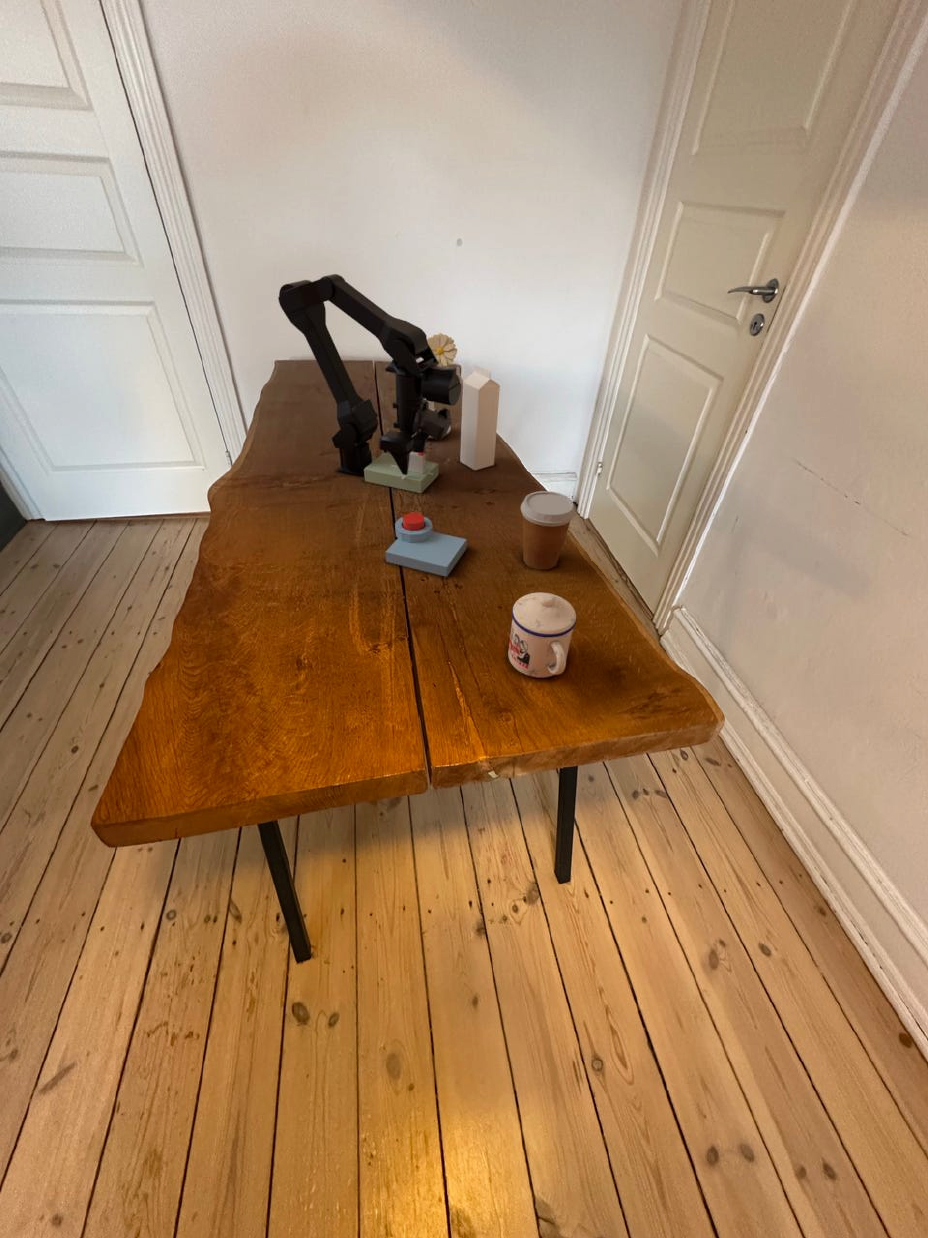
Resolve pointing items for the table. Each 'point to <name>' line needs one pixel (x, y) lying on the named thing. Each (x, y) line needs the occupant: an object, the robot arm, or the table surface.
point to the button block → (425, 549)
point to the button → (413, 522)
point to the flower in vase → (442, 355)
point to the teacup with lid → (541, 634)
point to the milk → (479, 419)
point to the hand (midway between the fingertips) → (411, 467)
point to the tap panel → (399, 474)
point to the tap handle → (417, 462)
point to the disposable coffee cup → (545, 527)
